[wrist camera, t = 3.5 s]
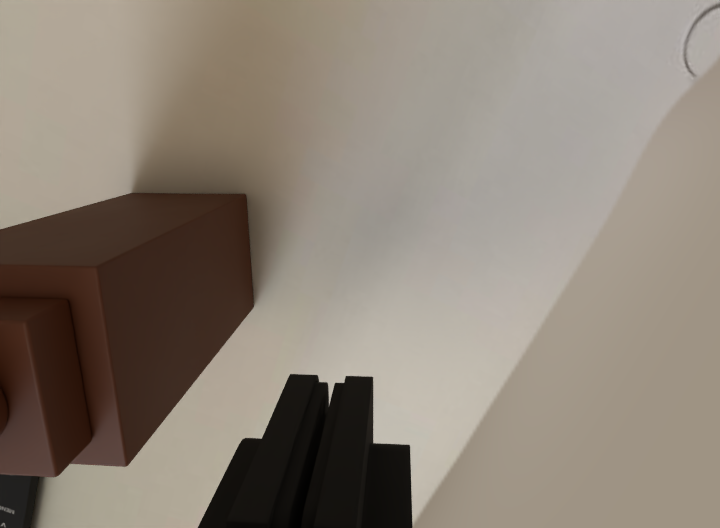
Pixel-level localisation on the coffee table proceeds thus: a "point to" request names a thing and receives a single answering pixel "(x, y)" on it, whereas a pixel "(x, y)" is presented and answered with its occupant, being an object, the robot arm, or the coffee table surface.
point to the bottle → (113, 322)
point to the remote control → (17, 500)
